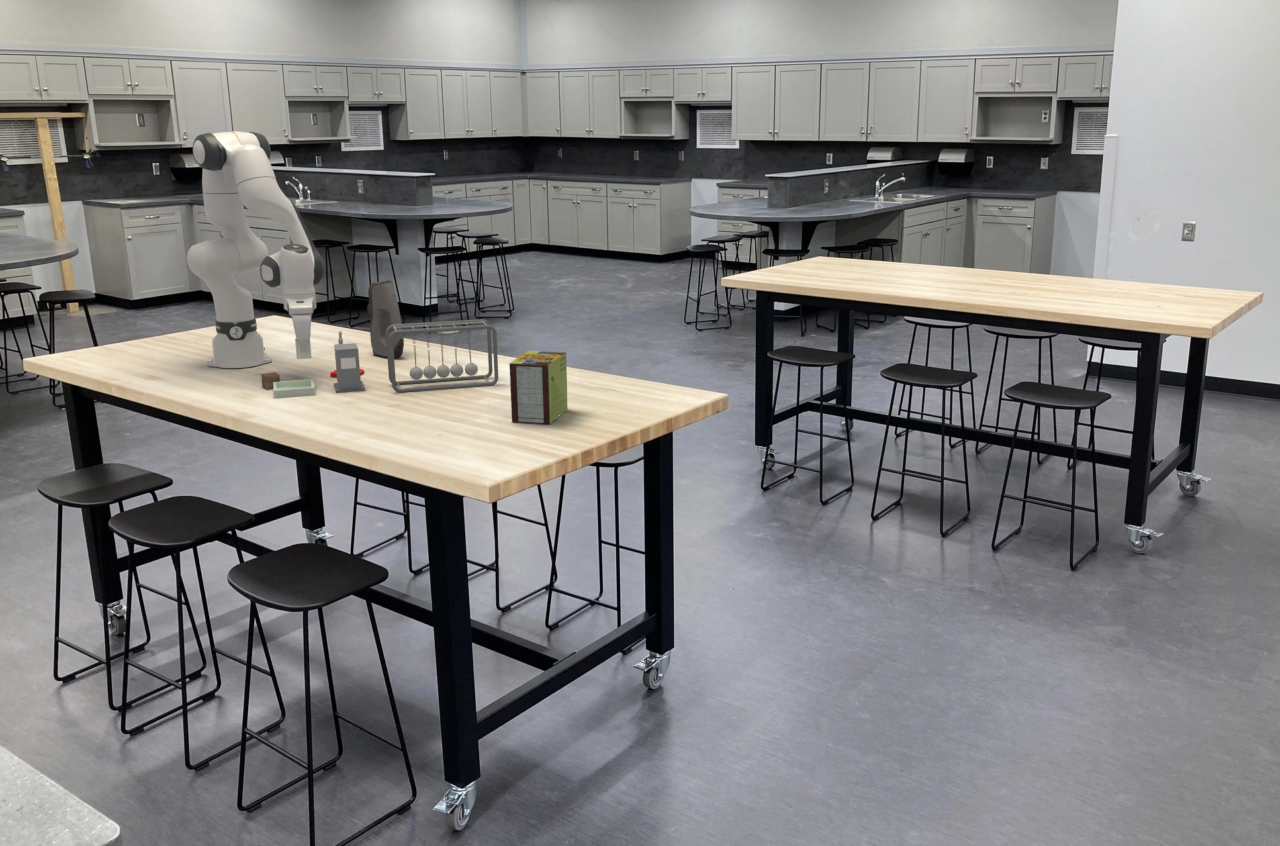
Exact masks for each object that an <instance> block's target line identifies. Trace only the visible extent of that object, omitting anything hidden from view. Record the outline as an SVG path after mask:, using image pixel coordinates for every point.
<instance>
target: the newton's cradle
mask: <svg viewBox="0 0 1280 846" xmlns="http://www.w3.org/2000/svg"><path fill="white" fill-rule="evenodd" d="M476 324H481V325H476ZM458 325H459V326H458ZM460 325H461V326H460ZM442 326H445V327H442ZM421 327H422V328H421ZM423 327H425V328H423ZM396 328H402V329H403V330H396ZM406 328H410V329H406ZM391 329H395V331H393V332H392V333H391V334H390V330H391ZM474 330H486V334H487V335H486V337H487V341H486V342H487V359H488V360H487V361H488V362H487V363H488V364H487V365H488V372H487V373H486V374H480V375H479V374H478V375H477V373H478V371H479V368H478V365H477V364H476V363H474V362H472V353H471V351H472V350H471V346H470V339H471V331H474ZM457 331H458V332H459V331H466V334H467V337H468V339H467V344H468V346H469V348H468V351H469V352H468V353H469V363H467V364H466V365H465V367H464V368H463V366H462V365H461V364H459V363H458V361H457V357H458V356H457V352H458V351H457V349H455V350H454V355H455V364H454V363H453V365H451V366H450V368H449V366H447V364H446V365H445V364H444V356H441V362H442V363H441V365H439V366H438V367H437V369H436V368H435V366H433V365H431V362H430V361H431V360H430V351H427V356H428V365H427V366H425V367H424V369H422V368H421V367H419V366H417V354H416V353H417V351H416V350H417V349H416V346H413V351H414V352H413V353H414V363H415V366H413V367H412V368H410V370H409V376H410V378H411V379H412V380H401V381H400V380H398V381H397V380H396V367H395V365H396V364H395V363H396V362H395V358H394V348H393V337H394V335H396V334H403V335H407V334H408V335H409V334H410V335H411V334H412V340H413V342H412V343H415V338H416V334H424V333H425V334H426V335H427V338H426V343H427V347H429V343H430V335H429V334H430V333H439V336H440V337H439V338H440V340H441V343H440V347H441V348H440V349H441V354H444V344H443V343H444V342H443V341H444V339H443V338H444V337H443V332H453V333H455V332H457ZM497 333H498V332H497V330H496V327H495V326H493V325H491V324H490V322H489V320H486V319H483V318H482V319H481V318H480V319H467V320H465V319H464V320H448V321H446V320H445V321H432V322H431V321H429V322H416V323H415V322H413V323H411V322H410V323H402V324H393V325H390V326H389V327H388V328H387V329H386V343H387V358H386V359H387V368H388V369H387V370H388V380H389V382H390V383H391V387H392V389H393V390H394V392H396V393H398V394H399V393H400V394H401V393H414V392H429V391H442V390H452V389H453V390H454V389H467V388H481V386H482V387H492V386H494V385H496V384H497V383H498V381H499V359H498V358H499V357H498V355H499V354H498V338H497V337H498V334H497ZM453 342H454V346H456V337H453ZM492 347H493V349H492ZM492 351H493V352H492ZM464 372H465V374H466V375H467V376H462V375H463V373H464ZM493 372H494V373H493ZM450 374H451V375H452V376H453V377H448V376H449V375H450ZM492 374H494V375H493V377H494V379H493V380H492V381H490V380H489V378H490V377H491V376H492ZM423 376H424V377H425V378H426V379H421V378H423ZM437 376H438V377H440V378H435V377H437ZM483 378H485V379H483ZM474 379H475V380H486V381H487V382H485V381H484V382H474V383H473V382H472V383H460V384H458V383H457V384H447V385H445V384H444V385H434V386H423V387H422V386H421V387H408V388H407V387H405V388H402V387H401V386H406V385H419V384H433V383H447V382H448V383H449V382H459V381H472V380H474ZM491 385H492V386H491ZM397 386H398V387H397Z"/></svg>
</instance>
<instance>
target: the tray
mask: <svg viewBox="0 0 1280 846" xmlns="http://www.w3.org/2000/svg"><path fill="white" fill-rule="evenodd" d="M272 390H273V398H274V399H280V398H281V399H282V398H293V397H304V396H316V388H315V383H314V379H313V378H311V379H310V378H309V379H297V380H284V381H283V380H282V381H280V382H273V389H272Z"/></svg>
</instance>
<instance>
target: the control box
mask: <svg viewBox="0 0 1280 846" xmlns="http://www.w3.org/2000/svg"><path fill="white" fill-rule="evenodd" d="M333 347H334V359H335V360H334V361H335V370H336V372H337V377H336V381H337V382H333V386H334V387H333V388H334V391H335V393H336V394H338V393H339V394H340V393H341V394H342V393H352V392H354V393H355V392H365V391H366V387H365V385H364V382H363V380H361V379H362V378H361V375H360V369H361V368H360V367H361V366H360V357H359V356H360V355H359V347H358V345H357V343H356V342H355V343H354V342H353V343H352V342H351V343H343V344H339V343H338V344H337V343H336V344H334V345H333Z"/></svg>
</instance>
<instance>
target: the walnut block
mask: <svg viewBox="0 0 1280 846" xmlns="http://www.w3.org/2000/svg"><path fill="white" fill-rule="evenodd" d="M260 375H261V386H262V388H263V389H265V391H269V390H274V389H273V382H281V378H280V377H281V376H280V374H279V373H278V372H276V371H273V372H265V373H261V374H260Z"/></svg>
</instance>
